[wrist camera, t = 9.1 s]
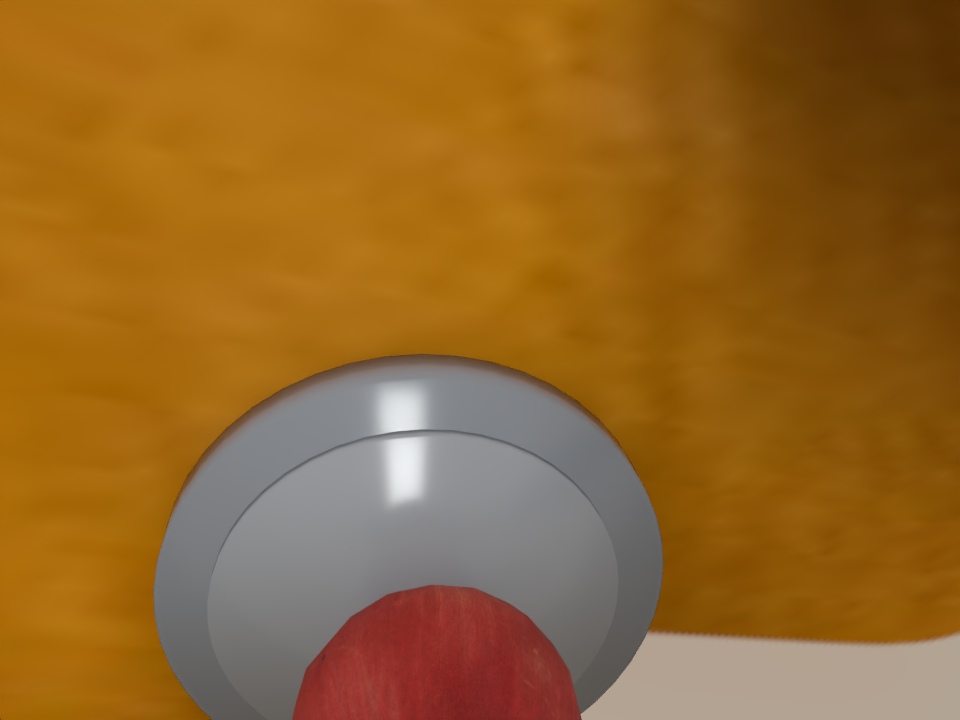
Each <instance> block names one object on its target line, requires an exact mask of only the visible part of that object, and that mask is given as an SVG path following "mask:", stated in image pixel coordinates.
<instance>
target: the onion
mask: <svg viewBox="0 0 960 720" xmlns="http://www.w3.org/2000/svg"><path fill="white" fill-rule="evenodd" d="M292 720H582V719H581V715H580V711H579V707H578V703H577V699H576V695H575V691H574V687H573V683H572V679H571V675H570V670H569V669H568V667H567V666H566V664H565V662H564V661H563V659H562V658H561V656H560V654H559V653H558V651H557V650H556V648H555V646H554V645H553V644H552V642H551V641H550V640H549V639H548V638H547V637H546V636H545V635H544V633H543V632H542V631H541V630H540V629H539V628H538V627H537V626H536V624H535V623H534V622H533V621H532V620H531V619H530V618H529V617H528V616H527V615H526V614H524V613H523V612H521V611H520V610H518V609H517V608H515V607H514V606H512V605H511V604H509V603H508V602H505V601H503V600H501V599H499V598H496V597H494V596H492V595H490V594H487V593H485V592H483V591H481V590H479V589H476V588H471V587H458V586H445V585H427V586H423V587H418V588H414V589H408V590H403V591H398V592H394V593H390V594H387V595H385V596H384V597H382V598H380V599H379V600H377V601H375V602H374V603H372V604H371V605H369V606H367V607H366V608H364V609H362V610H361V611H359V612H357V613H356V614H354V615H353V616H351V617H350V618H349V619H348V620H347V621H346V623H345V624H344V625H343V626H342V627H341V628H340V630H339V631H338V632H337V633H336V634H335V635H334V637H333V638H332V639H331V640H330V641H329V642H328V644H327V645H326V646H325V647H324V648H323V649H322V651H321V652H320V653H319V654H318V655H317V656H316V658H315V659H314V660H313V661H312V662H311V663H310V665H309V666H308V667H307V668H306V671H305V674H304V677H303V681H302V684H301V687H300V690H299V694H298V697H297V700H296V704H295V709H294V713H293V717H292Z"/></svg>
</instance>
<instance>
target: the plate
mask: <svg viewBox="0 0 960 720" xmlns="http://www.w3.org/2000/svg"><path fill="white" fill-rule="evenodd" d="M662 573H663V553H662V539H661V535H660V531H659V526H658V522H657V518H656V514H655V512H654V509H653V507H652V505H651V502H650V500H649V497H648V495H647V493H646V490H645V488H644V486H643V484H642V483H641V481H640V479H639V477H638V475H637V473H636V471H635V469H634V467H633V465H632V463H631V462H630V460H629V458H628V457H627V455H626V454H625V452H624V450H623V449H622V447H621V446H620V444H619V442H618V441H617V439H616V438H615V437H614V436H613V435H612V434H611V433H610V431H609V430H608V429H607V428H606V427H605V426H604V424H603V423H602V422H601V421H600V420H599V419H598V418H597V417H596V416H595V415H593V414H592V413H591V412H590V411H589V410H587V409H586V408H585V407H584V406H583V405H582V404H580V403H579V402H578V401H577V400H575V399H574V398H572V397H570V396H569V395H567V394H566V393H564V392H562V391H561V390H559V389H558V388H556V387H554V386H553V385H551V384H549V383H547V382H545V381H543V380H540V379H538V378H536V377H534V376H531V375H529V374H527V373H525V372H522V371H520V370H516V369H513V368H510V367H506V366H503V365H500V364H496V363H493V362H489V361H483V360H478V359H472V358H466V357H460V356H449V355H428V354H416V355H402V356H387V357H381V358H375V359H370V360H365V361H359V362H354V363H349V364H346V365H343V366H339V367H336V368H333V369H330V370H327V371H323V372H320V373H317V374H314V375H312V376H310V377H308V378H305V379H303V380H301V381H299V382H297V383H294V384H292V385H290V386H288V387H285V388H283V389H281V390H280V391H278V392H277V393H275V394H273V395H272V396H270V397H268V398H267V399H265V400H263V401H262V402H260V403H258V404H257V405H255V406H254V407H252V408H251V409H250V410H249V411H247V412H246V413H245V414H244V415H242V416H241V417H240V418H239V419H237V420H236V421H235V422H234V423H232V424H231V425H230V426H229V427H227V428H226V429H225V430H224V432H223V433H222V434H221V435H220V436H219V437H218V438H217V439H216V440H215V441H214V442H213V443H212V444H211V445H210V446H209V447H208V448H207V449H206V450H205V452H204V453H203V455H202V456H201V457H200V459H199V460H198V462H197V463H196V465H195V466H194V467H193V469H192V470H191V472H190V473H189V474H188V476H187V478H186V480H185V482H184V484H183V486H182V488H181V490H180V492H179V494H178V496H177V498H176V500H175V502H174V505H173V508H172V512H171V515H170V518H169V521H168V525H167V528H166V531H165V535H164V539H163V543H162V546H161V550H160V554H159V557H158V561H157V568H156V575H155V583H154V611H155V620H156V625H157V629H158V634H159V638H160V643H161V645H162V648H163V650H164V652H165V655H166V657H167V660H168V662H169V665H170V667H171V669H172V670H173V672H174V673H175V675H176V677H177V678H178V680H179V682H180V683H181V685H182V686H183V688H184V690H185V691H186V692H187V693H188V694H189V696H190V697H191V698H192V699H193V700H194V701H195V703H196V704H197V705H198V706H199V707H200V708H201V710H202V711H204V712H205V713H206V714H207V715H208V716H209V717H210V718H212V719H213V720H292V717H293V713H294V709H295V704H296V700H297V697H298V694H299V690H300V687H301V684H302V681H303V677H304V674H305V671H306V668H307V667H308V666H309V665H310V663H311V662H312V661H313V660H314V659H315V658H316V656H317V655H318V654H319V653H320V652H321V651H322V649H323V648H324V647H325V646H326V645H327V644H328V642H329V641H330V640H331V639H332V638H333V637H334V635H335V634H336V633H337V632H338V631H339V630H340V628H341V627H342V626H343V625H344V624H345V623H346V621H347V620H348V619H349V618H350V617H351V616H353V615H354V614H356V613H357V612H359V611H361V610H362V609H364V608H366V607H367V606H369V605H371V604H372V603H374V602H375V601H377V600H379V599H380V598H382V597H384V596H385V595H387V594H390V593H394V592H398V591H403V590H408V589H414V588H418V587H423V586H427V585H445V586H458V587H471V588H476V589H479V590H481V591H483V592H485V593H487V594H490V595H492V596H494V597H496V598H499V599H501V600H503V601H505V602H508V603H509V604H511V605H512V606H514V607H515V608H517V609H518V610H520V611H521V612H523V613H524V614H526V615H527V616H528V617H529V618H530V619H531V620H532V621H533V622H534V623H535V624H536V626H537V627H538V628H539V629H540V630H541V631H542V632H543V633H544V635H545V636H546V637H547V638H548V639H549V640H550V641H551V642H552V644H553V645H554V646H555V648H556V650H557V651H558V653H559V654H560V656H561V658H562V659H563V661H564V662H565V664H566V666H567V667H568V669H569V670H570V675H571V679H572V683H573V687H574V691H575V695H576V699H577V703H578V707H579V711H580V714H581V713H582V712H584V711H585V710H586V709H587V708H589V707H590V706H591V705H592V704H593V703H595V702H596V700H598V699H599V698H600V697H601V696H602V695H603V694H604V693H605V692H606V690H608V689H609V688H610V687H611V686H612V685H613V683H614V682H615V681H616V680H617V679H618V677H619V676H620V675H621V673H622V672H623V671H624V670H625V668H626V667H627V666H628V664H629V663H630V662H631V660H632V659H633V657H634V655H635V654H636V651H637V650H638V648H639V647H640V645H641V644H642V642H643V640H644V638H645V636H646V634H647V631H648V629H649V626H650V624H651V622H652V619H653V617H654V614H655V610H656V607H657V603H658V599H659V595H660V591H661V583H662Z"/></svg>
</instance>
